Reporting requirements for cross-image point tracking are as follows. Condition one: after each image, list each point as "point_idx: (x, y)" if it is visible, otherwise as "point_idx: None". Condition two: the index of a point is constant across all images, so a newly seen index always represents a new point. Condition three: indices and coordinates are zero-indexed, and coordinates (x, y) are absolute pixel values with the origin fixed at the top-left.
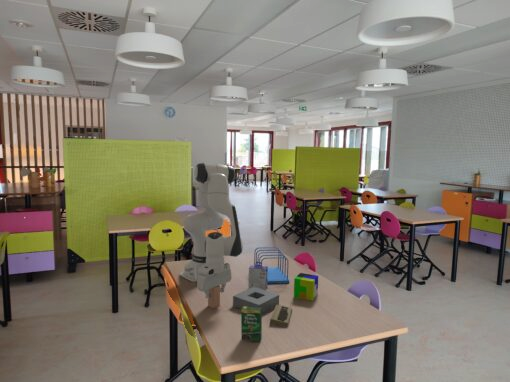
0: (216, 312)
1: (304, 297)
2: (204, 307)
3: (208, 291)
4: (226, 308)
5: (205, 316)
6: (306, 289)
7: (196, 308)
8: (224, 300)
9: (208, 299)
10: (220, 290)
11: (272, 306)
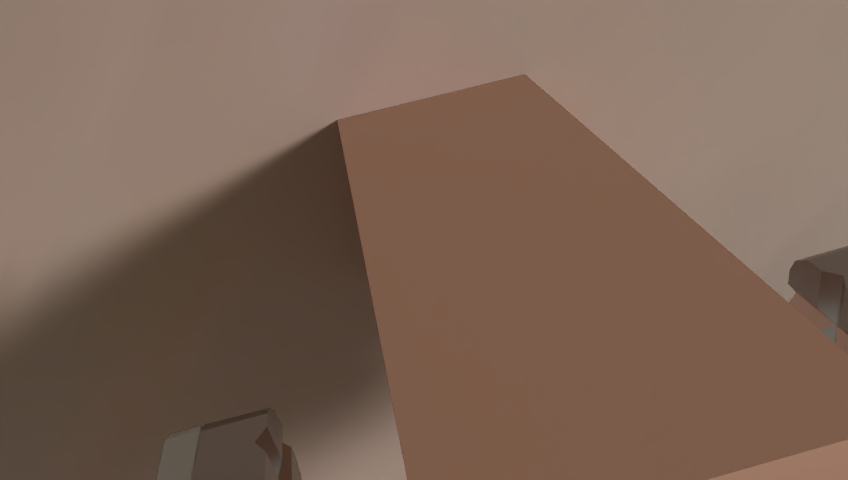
0: (325, 428)
1: None
2: (225, 145)
3: (385, 355)
4: None
5: (78, 470)
6: None
7: (12, 86)
8: (787, 73)
9: (355, 200)
10: (836, 302)
11: None
